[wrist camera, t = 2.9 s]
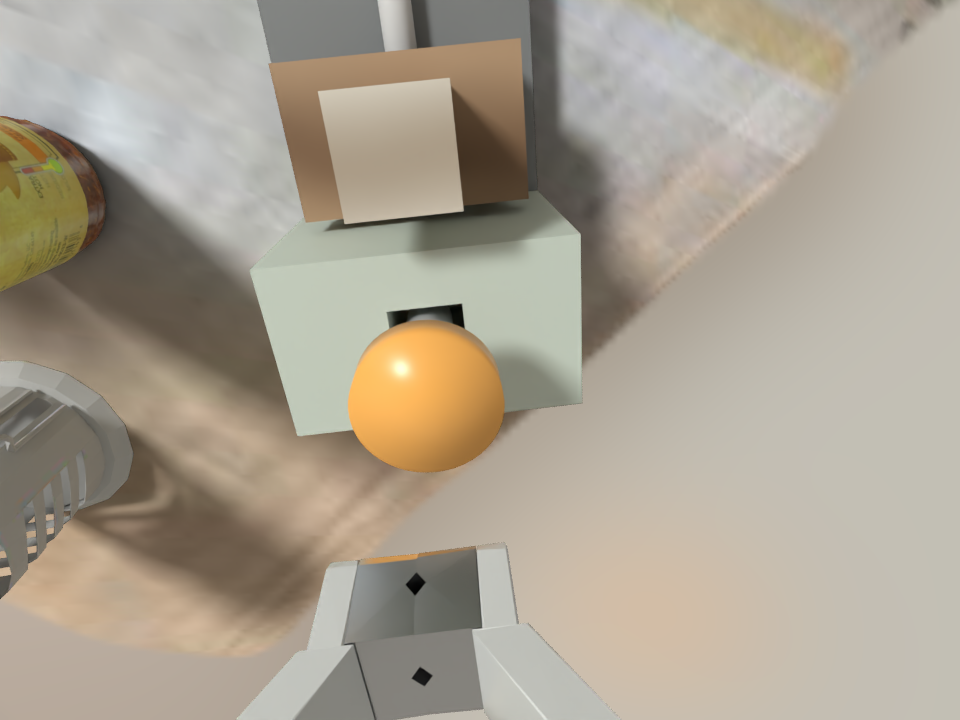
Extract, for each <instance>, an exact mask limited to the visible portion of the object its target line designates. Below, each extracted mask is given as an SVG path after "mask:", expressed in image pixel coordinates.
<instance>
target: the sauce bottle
mask: <svg viewBox="0 0 960 720" xmlns="http://www.w3.org/2000/svg"><path fill="white" fill-rule="evenodd" d="M105 204H106V201H105V199H104V195H103V189H102V186H101V184H100V182H99V179H98V177H97V174H96V173H95V171H94V169H93V167H92V165H91V164H90V163H89V161H88V160H87V159H86V158H85V157H84V156H83V154H82V153H81V152H79V151H78V149H77V148H76V147H75V146H74V145H72V144H71V143H70V142H68V141H67V140H66V139H64V138H62V137H61V136H59V135H58V134H56V133H54V132H53V131H50V130H48V129H46V128H44V127H42V126H40V125H37V124H34V123H32V122H30V121H27V120H19V119H14V118H10V117H6V116H0V292H1V291H3V290H5V289H8V288H10V287H12V286H15V285H17V284H19V283H21V282H23V281H26V280H28V279H30V278H32V277H34V276H37V275H39V274H41V273H43V272H46V271H48V270H50V269H52V268H54V267H56V266H58V265H61V264H63V263H65V262H67V261H68V260H69V259H71V258H72V257H73V256H75V255H76V254H77V253H78V252H80V251H82V250H83V249H84V248H86V247H87V246H88V245H89V244H91V243H92V242H93V241H94V240H95V239H96V238H97V237H98V236H99V234H100V232H101V230H102V226H103V223H104V220H105V208H106V206H105Z"/></svg>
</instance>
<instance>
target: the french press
mask: <svg viewBox="0 0 960 720" xmlns="http://www.w3.org/2000/svg"><path fill="white" fill-rule="evenodd" d="M133 454H134V453H133V450H132V447H131V443H130V440H129V437H128V433H127V430H126V427H125V424H124V423H123V422H122V421H121V419H120V418H119V417H118V416H117V414H116V413H115V412H114V411H113V410H112V408H111V407H110V406H109V405H108V403H107V402H106V401H105V400H104V399H103V397H102V396H100V395H99V394H97V393H96V392H94V391H93V390H91V389H90V388H88V387H87V386H85V385H83V384H82V383H80V382H79V381H77V380H76V379H74V378H73V377H71V376H70V375H68V374H66V373H63V372H60V371H57V370H53V369H50V368H47V367H44V366H40V365H37V364H34V363H31V362H27V361H0V551H4V550H5V552H6V555H7V558H1V559H0V568H4V567H10V570H11V573H12V574H11V575H8V576H2V577H0V599H1V598H2V597H3V596H4V595H5V594H6V593H7V592H8V591H9V590H10V589H11V588H12V587H13V586H14V585H15V583H16V582H17V581H18V580H19V579H20V578H21V577H22V576H23V574H24V573H25V572H26V571H27V570H28V563H31V562H32V561H34V560H35V559H37V558H38V557H39V556H40V554H41V553H42V552H43V551H44V549H45V548H46V543H48V542H50V541H51V540H53V539H54V538H55V537H56V536H57V535H58V533H59V532H60V531H61V529H62V528H63V524H65V523H66V522H68V521H69V520H71V518H72V517H73V516H74V514H75V513H76V512H77V511H78V509H83V508H86V507H88V506H91V505H94V504H96V503H99V502H102V501H104V500H107V499H109V498H110V497H111V496H112V495H113V494H114V493H115V492H116V491H117V490H118V489H119V488H120V487H121V486H122V485H123V484H124V483H125V482H126V481H127V480H128V477H129V472H130V468H131V463H132V459H133ZM69 510H70V516H67V517H64V512H65V511H69ZM47 514H54V520H49V521H46V515H47ZM34 516H35V522H33V523H28V522H29V521H30V520H31V519H32V518H33V517H34ZM52 527H54V533H53V534H49V535H47V530H46V529H48V528H52ZM35 530H36V537H33V538H27V536H26V532H28V531H35ZM36 545H37V552H36V553H31V554H28V550H27V547H30V546H36Z"/></svg>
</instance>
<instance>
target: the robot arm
mask: <svg viewBox="0 0 960 720" xmlns="http://www.w3.org/2000/svg"><path fill="white" fill-rule="evenodd" d="M480 709H484V713H485V714H486V716H487V717H488V719H489V720H621V719H620V718H619V717H618V715H617V714H615V712H614V711H613V710H612V709H611V708H610V707H609V706H608V705H607V704H606V703H605V702H604V701H603V700H602V699H601V698H600V697H599V696H598V695H597V694H596V693H595V692H594V691H593V690H592V689H591V688H590V687H589V685H588V684H587V683H586V682H585V681H583V679H582V678H581V677H580V676H579V675H578V674H577V673H576V672H575V671H574V670H573V669H572V668H571V667H570V666H569V665H568V664H567V663H566V662H565V661H564V660H563V659H562V658H561V657H560V655H559V654H558V653H557V652H556V651H555V650H554V649H553V648H552V647H551V646H550V645H549V644H548V643H547V642H546V641H545V640H544V639H543V638H542V637H541V636H540V635H539V634H538V633H537V632H536V631H535V630H534V629H533V628H532V627H531V625H530V624H528V623H523V624H519V621H518V615H517V608H516V602H515V595H514V589H513V582H512V575H511V569H510V562H509V556H508V549H507V545H506V543H505V542H501V543H493V544H485V545H478V546H477V551H476V546H471V547H464V548H456V549H448V550H440V551H434V552H425V553H419V554H411V555H400V556H390V557H379V558H369V559H361V560H355V561H344V562H333V563H330V565H329V567H328V568H327V570H326V573H325V577H324V581H323V585H322V589H321V593H320V597H319V602H318V606H317V610H316V614H315V618H314V622H313V626H312V630H311V635H310V639H309V643H308V647H307V650H303V651H297V652H296V653H295V655H294V656H293V657H292V658H291V659H290V660H289V661H288V662H287V663H286V665H285V666H284V667H283V668H282V669H281V670H280V671H279V672H278V673H277V675H276V676H275V677H274V678H273V679H272V680H271V681H270V682H269V683H268V684H267V686H266V687H265V688H264V689H263V690H262V691H261V692H260V693H259V694H258V695H257V697H256V698H255V699H254V700H253V701H252V702H251V703H250V704H249V705H248V707H247V708H246V709H245V710H244V711H243V712H242V713H241V714H240V715H239V717H238V718H237V719H236V720H397V719H403V718H409V717H416V716H422V715H429V714H438V713H448V712H459V711H470V710H480Z"/></svg>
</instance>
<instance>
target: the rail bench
mask: <svg viewBox="0 0 960 720" xmlns="http://www.w3.org/2000/svg"><path fill="white" fill-rule="evenodd" d="M257 3H258V7H259V11H260V16H261V20H262V24H263V29H264V33H265V37H266V41H267V46H268V50H269V54H270V59H271V63H280V62H290V61H299V60H309V59H319V58H329V57H339V56H349V55H359V54H368V53H378V52H388V51H398V50H408V49H418V48H428V47H437V46H447V45H457V44H467V43H477V42H487V41H497V40H506V39H516V38H521V56H522V75H523V95H524V115H525V134H526V154H527V174H528V193H529V199H522V200H512V201H503V202H494V203H485V204H475V205H466V206H463V209H464V211H461V212H452V213H443V214H434V215H424V216H415V217H406V218H397V219H387V220H378V221H369V222H360V223H350V224H344V219H336V220H327V221H318V222H308V223H306V222H305V218H303V219H302V220H301V221H300V222H299V223H298V224H297V225H296V226H295V227H294V228H293V229H292V230H291V231H290V232H289V233H288V234H287V235H285V236H284V237H283V238H282V239H281V240H280V241H279V242H278V243H277V244H276V245H275V246H274V247H273V248H272V249H271V250H270V251H269V252H268V253H267V254H266V255H265V256H264V257H263V258H262V259H260V260H259V261H258V262H257V263H256V264H255V265H254V266H253V267H252V268H251V269H250V274H251V277H252V281H253V284H254V288H255V291H256V294H257V298H258V301H259V305H260V308H261V312H262V315H263V319H264V322H265V325H266V329H267V332H268V336H269V339H270V343H271V346H272V350H273V353H274V356H275V360H276V363H277V367H278V370H279V374H280V377H281V381H282V384H283V387H284V391H285V394H286V398H287V401H288V405H289V408H290V412H291V415H292V418H293V422H294V425H295V429H296V432H297V436H305V435H314V434H322V433H331V432H340V431H348V430H353V428H352V425H351V422H350V419H349V413H348V398H349V392H350V388H351V385H352V381H353V378H354V374H355V371H356V368H357V365H358V362H359V360H360V358H361V356H362V354H363V352H364V351H365V349H366V348H367V346H368V345H369V344H370V343H371V342H372V341H373V340H374V339H375V338H376V337H378V336H379V335H380V334H381V333H383V332H385V331H386V330H388V329H390V328H392V327H394V326H396V325H399V324H402V323H405V322H407V318H408V313H409V310H410V309H417V308H426V307H435V306H444V305H447V306H448V307H449V309H450V310H451V313H452V319H453V324H455V325H458V326H460V327H462V328H464V329H466V330H468V331H469V332H471V333H472V334H474V335H475V336H476V337H477V338H479V339H480V340H481V341H482V342H483V343H484V344H485V345H486V347H487V348H488V349H489V351H490V352H491V354H492V355H493V357H494V360H495V362H496V364H497V367H498V371H499V375H500V380H501V384H502V389H503V394H504V400H505V410H504V412H512V411H521V410H529V409H538V408H547V407H555V406H564V405H572V404H581V403H582V323H581V234H580V233H579V232H578V231H577V230H576V229H575V228H574V227H573V226H572V225H571V224H570V223H569V222H568V221H567V220H566V219H565V218H564V217H563V216H562V215H561V214H560V213H559V212H558V211H557V210H556V209H555V208H554V207H553V206H552V205H551V203H550V202H549V201H548V200H547V199H546V198H545V197H544V196H543V195H542V194H541V193H540V192H539V191H538V190H537V168H536V145H535V122H534V99H533V76H532V54H531V31H530V8H529V0H257Z"/></svg>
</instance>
